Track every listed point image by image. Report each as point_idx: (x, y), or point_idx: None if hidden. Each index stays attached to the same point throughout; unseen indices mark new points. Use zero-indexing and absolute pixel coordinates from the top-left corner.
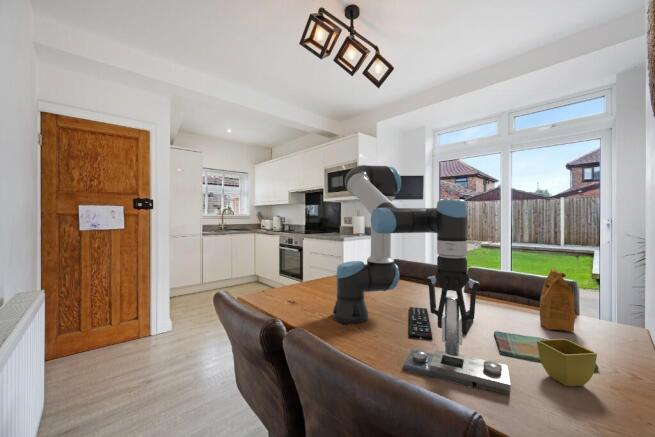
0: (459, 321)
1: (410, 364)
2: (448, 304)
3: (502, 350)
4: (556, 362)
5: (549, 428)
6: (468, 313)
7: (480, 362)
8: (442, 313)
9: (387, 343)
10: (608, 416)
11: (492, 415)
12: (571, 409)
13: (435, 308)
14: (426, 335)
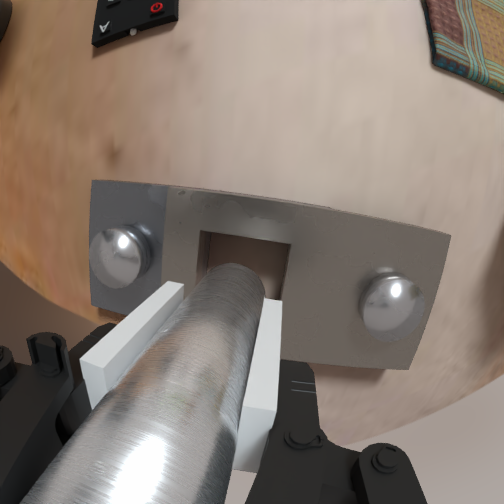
0: (240, 464)
1: (107, 301)
2: None
3: (444, 53)
4: None
5: (419, 414)
6: (340, 490)
7: (359, 248)
8: (74, 414)
9: (38, 138)
10: None
11: (324, 423)
12: (495, 336)
13: (3, 397)
14: (151, 12)
